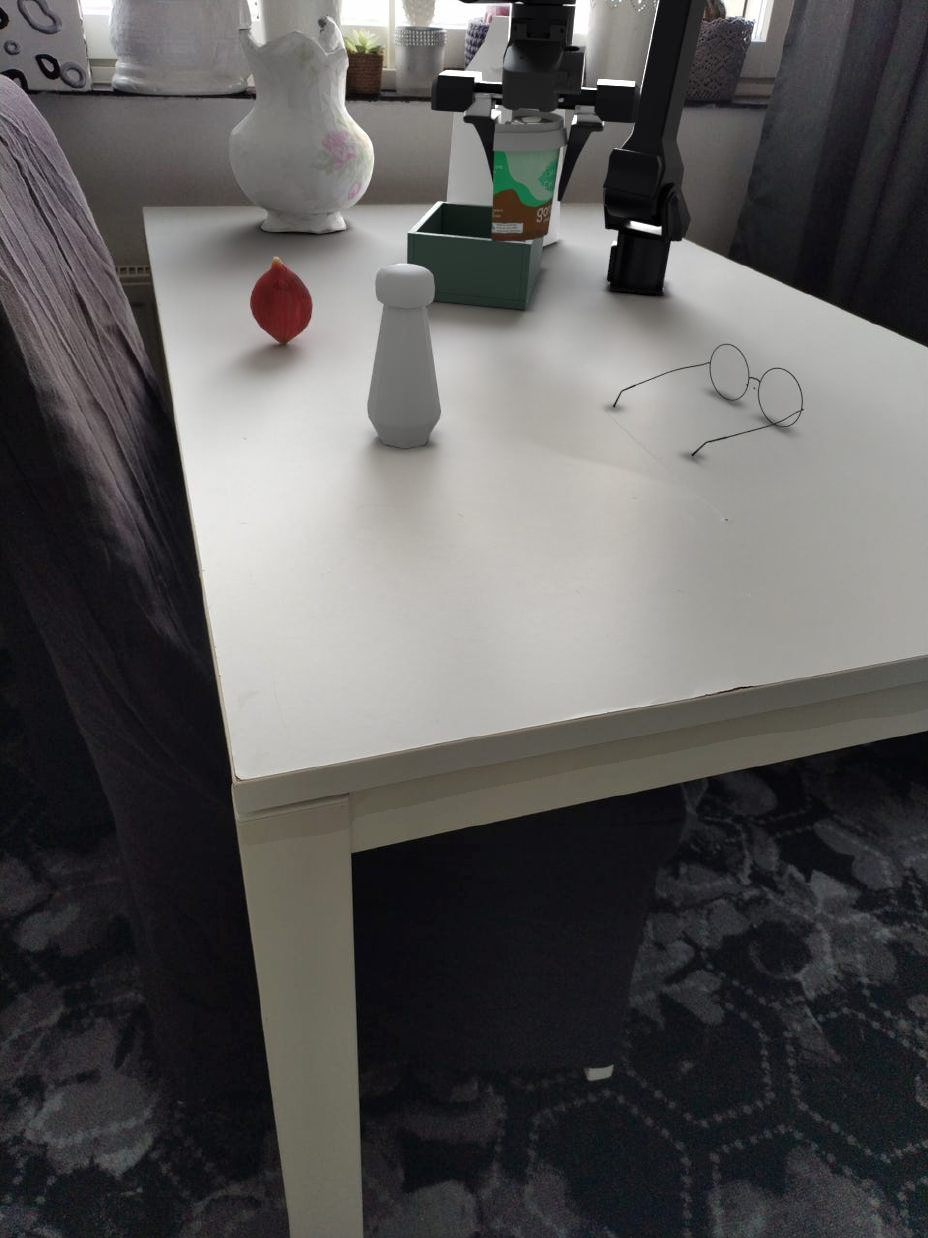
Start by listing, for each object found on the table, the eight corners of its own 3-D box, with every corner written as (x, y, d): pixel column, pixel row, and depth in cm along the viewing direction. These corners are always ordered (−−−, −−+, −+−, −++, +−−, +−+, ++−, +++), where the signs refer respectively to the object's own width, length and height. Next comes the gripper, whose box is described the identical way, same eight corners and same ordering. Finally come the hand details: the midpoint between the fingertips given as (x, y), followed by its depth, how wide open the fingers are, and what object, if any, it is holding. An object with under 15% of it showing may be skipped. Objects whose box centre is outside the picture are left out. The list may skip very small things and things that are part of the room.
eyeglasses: (699, 462, 69) (713, 401, 66) (604, 403, 78) (613, 347, 75) (802, 439, 74) (820, 381, 71) (702, 386, 83) (714, 332, 80)
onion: (324, 338, 88) (320, 254, 83) (297, 357, 84) (291, 269, 79) (272, 329, 89) (265, 246, 85) (242, 347, 85) (234, 260, 80)
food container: (553, 249, 83) (564, 128, 77) (489, 244, 84) (494, 124, 78) (565, 219, 92) (575, 110, 87) (507, 215, 93) (512, 106, 87)
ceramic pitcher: (272, 210, 137) (244, 16, 123) (395, 209, 135) (381, 11, 120) (223, 244, 120) (183, 23, 105) (362, 244, 118) (341, 18, 103)
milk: (558, 240, 126) (580, 20, 110) (518, 256, 118) (536, 20, 102) (486, 226, 131) (498, 13, 115) (443, 240, 123) (450, 13, 107)
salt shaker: (367, 421, 73) (364, 255, 65) (437, 422, 73) (442, 257, 65) (367, 452, 68) (364, 277, 60) (442, 453, 68) (448, 279, 61)
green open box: (540, 269, 113) (546, 210, 109) (525, 310, 99) (531, 244, 95) (436, 259, 114) (437, 200, 110) (406, 298, 100) (407, 232, 96)
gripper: (420, 1, 71) (418, 209, 81) (653, 13, 70) (624, 224, 79) (443, -3, 80) (439, 185, 90) (650, 8, 78) (624, 198, 88)
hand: (528, 198), depth 86 cm, fingers closed on food container, 6 cm apart
